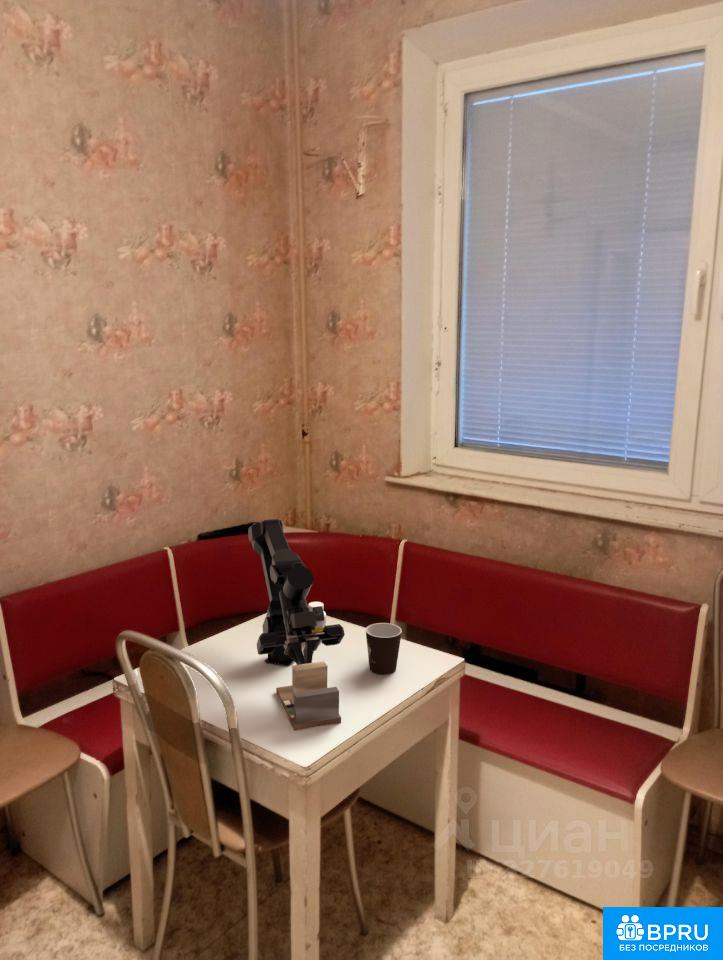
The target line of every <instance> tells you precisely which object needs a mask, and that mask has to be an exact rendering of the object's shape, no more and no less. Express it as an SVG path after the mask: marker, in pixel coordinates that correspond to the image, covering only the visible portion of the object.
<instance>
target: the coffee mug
mask: <svg viewBox="0 0 723 960" xmlns="http://www.w3.org/2000/svg"><path fill="white" fill-rule="evenodd" d="M402 632H403V630H402V628H401V627H400V626H398V625H397V624H393V623H388V622H378V623H377V622H376V623H372V624H369V625H368V626H366V628H365V635H366V636H365V637H366V645H367V647H366V648H367V656H368V657H367V658H368V667H369V671H370V672H371V673H373V674H375V675H378V676H389V675H392V674H394V673H395V672H396V671H397V667H398V665H397V664H398V658H399V653H400V646H401V638H402Z"/></svg>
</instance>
